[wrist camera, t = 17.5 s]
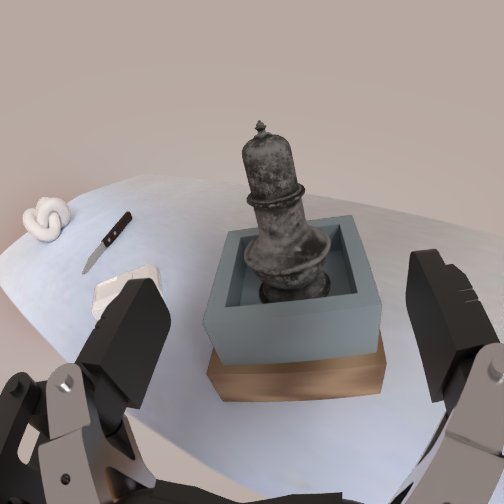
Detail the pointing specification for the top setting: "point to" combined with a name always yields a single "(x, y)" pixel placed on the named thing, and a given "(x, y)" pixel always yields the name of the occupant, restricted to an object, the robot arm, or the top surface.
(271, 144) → the salt shaker
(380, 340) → the tower base
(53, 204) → the white knot sculpture
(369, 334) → the blue-grey square tray
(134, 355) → the robot arm
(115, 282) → the soap bar
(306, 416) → the top surface
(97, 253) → the kitchen knife
